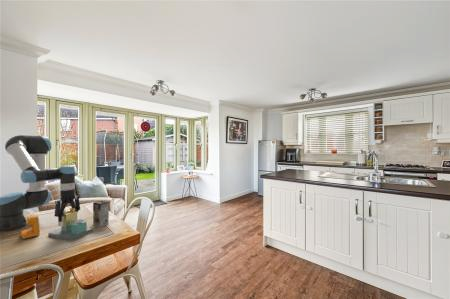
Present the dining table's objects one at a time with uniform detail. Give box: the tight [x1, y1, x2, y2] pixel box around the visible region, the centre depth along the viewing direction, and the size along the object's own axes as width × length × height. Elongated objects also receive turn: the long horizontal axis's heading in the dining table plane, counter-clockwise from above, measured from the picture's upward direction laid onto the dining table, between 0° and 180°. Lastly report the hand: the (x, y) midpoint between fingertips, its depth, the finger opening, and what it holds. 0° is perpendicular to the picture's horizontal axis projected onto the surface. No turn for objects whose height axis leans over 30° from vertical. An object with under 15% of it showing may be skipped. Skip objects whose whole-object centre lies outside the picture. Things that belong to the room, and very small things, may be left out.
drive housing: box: [48, 217, 94, 242], centre depth 128 cm, size 20×14×12 cm
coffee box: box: [92, 200, 110, 227], centre depth 144 cm, size 9×6×16 cm
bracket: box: [21, 214, 41, 239], centre depth 125 cm, size 11×7×12 cm, turn 51°
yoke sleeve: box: [57, 207, 78, 227], centre depth 129 cm, size 7×7×10 cm
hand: (68, 224), depth 129 cm, fingers closed on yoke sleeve, 7 cm apart
